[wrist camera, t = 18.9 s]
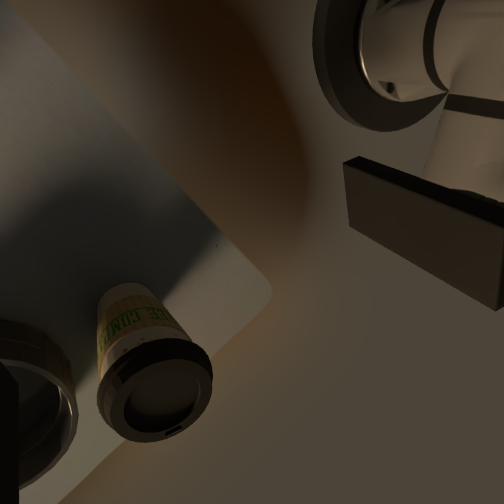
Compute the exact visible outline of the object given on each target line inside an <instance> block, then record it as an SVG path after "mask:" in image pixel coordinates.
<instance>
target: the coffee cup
mask: <svg viewBox="0 0 504 504" xmlns="http://www.w3.org/2000/svg"><path fill="white" fill-rule="evenodd" d="M97 320H98V324H97V353H98V375H99V382H100V384H99V388H98V392H97V406H98V409H99V412H100V414H101V416H102V418H103V419H104V421H105V422H106V423H107V424H108V425H109V426H110V427H111V428H112V429H113V430H115V431H116V432H117V433H118V434H119V435H120V436H122V437H123V438H125V439H128V440H130V441H134V442H144V443H147V442H156V441H160V440H164V439H167V438H169V437H172V436H174V435H176V434H178V433H180V432H182V431H183V430H185V429H186V428H188V427H189V426H190V425H191V424H193V423H194V422H195V421H196V420H197V419H198V418H199V417H200V415H201V414H202V413H203V412H204V410H205V408H206V407H207V405H208V403H209V400H210V398H211V394H212V380H213V373H212V366H211V362H210V360H209V357H208V355H207V354H206V352H205V351H204V350H203V349H202V348H201V347H200V346H198V345H197V344H195V343H193V342H192V340H191V339H190V337H189V336H188V335H187V334H186V332H185V331H184V330H183V329H182V327H181V326H180V325H179V324H178V323H177V321H176V320H175V319H174V318H173V317H172V315H171V314H170V313H169V312H168V310H167V309H166V308H165V307H164V306H163V304H162V303H161V302H159V301H158V300H157V299H156V298H155V296H154V295H153V294H152V293H151V291H150V290H149V289H148V288H146V287H145V286H143V285H141V284H137V283H123V284H119V285H117V286H114V287H112V288H111V289H109V290H108V291H107V292H106V293H105V294H104V295H103V296H102V297H101V299H100V301H99V303H98V307H97Z"/></svg>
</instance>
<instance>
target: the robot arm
mask: <svg viewBox="0 0 504 504" xmlns="http://www.w3.org/2000/svg"><path fill="white" fill-rule="evenodd" d="M353 44H354V56H355V62H356V66H357V69H358V72H359V74H360V77H361V79H362V81H363V82H364V84H365V85H366V86H367V88H368V89H369V90H370V91H371V92H372V93H373V94H375V95H376V96H378V97H380V98H382V99H385V100H390V101H396V102H408V101H415V100H418V99H422V98H426V97H430V96H434V95H438V94H441V93H445V92H448V96H447V99H446V102H445V105H444V108H443V111H442V114H441V117H440V120H439V124H438V127H437V130H436V133H435V137H434V140H433V143H432V146H431V149H430V152H429V155H428V158H427V161H426V164H425V167H424V171H423V174H422V177H421V178H419V177H416V176H414V175H411V174H408V173H405V172H402V171H400V170H397V169H394V168H391V167H389V166H386V165H383V164H380V163H378V162H374V161H372V160H369V159H366V158H363V157H361V156H358V157H356V158H353V159H351V160H348V161H346V162H344V163H343V172H344V180H345V190H346V199H347V208H348V218H349V226H350V227H352V228H353V229H355V230H357V231H359V232H360V233H362V234H364V235H365V236H367V237H369V238H370V239H372V240H374V241H376V242H377V243H379V244H381V245H383V246H384V247H386V248H388V249H389V250H391V251H393V252H394V253H396V254H398V255H400V256H402V257H403V258H405V259H406V260H408V261H410V262H412V263H413V264H415V265H417V266H419V267H420V268H422V269H424V270H425V271H427V272H429V273H430V274H432V275H434V276H436V277H437V278H439V279H441V280H443V281H444V282H446V283H448V284H450V285H451V286H453V287H455V288H456V289H458V290H460V291H461V292H463V293H465V294H466V295H468V296H470V297H472V298H473V299H475V300H477V301H479V302H480V303H482V304H484V305H485V306H487V307H489V308H491V309H492V310H494V311H497V310H499V309H501V308H502V307H504V0H362V2H361V4H360V7H359V10H358V13H357V17H356V22H355V28H354V42H353ZM0 504H19V384H18V383H17V381H16V380H15V379H14V378H13V376H12V375H11V374H10V372H9V371H8V370H7V369H6V367H5V366H4V365H3V363H2V362H1V361H0Z"/></svg>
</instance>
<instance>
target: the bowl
mask: <svg viewBox="0 0 504 504" xmlns="http://www.w3.org/2000/svg"><path fill="white" fill-rule="evenodd" d="M0 361H1V362H2V363H3V365H4V366H5V367H6V369H7V370H8V371H9V372H10V374H11V375H12V376H13V378H14V379H15V380H16V381H17V383H18V384H19V490H21V489H23V488H25V487H26V486H28V485H30V484H32V483H34V482H35V481H36V480H38V479H39V478H40V477H41V476H43V475H44V474H45V473H47V472H48V471H49V470H50V469H52V468H53V467H54V466H55V465H56V463H57V462H58V461H59V460H60V459H61V457H62V456H63V455H64V454H65V453H66V452H67V450H68V448H69V446H70V444H71V442H72V440H73V438H74V436H75V434H76V430H77V423H78V416H79V414H78V408H77V402H76V395H75V389H74V383H73V377H72V372H71V367H70V363H69V360H68V359H67V357H66V356H65V354H64V353H63V351H62V350H61V348H60V347H59V346H58V345H57V344H56V343H55V342H53V341H52V340H51V339H50V338H48V337H47V336H46V335H45V334H43V333H41V332H38V331H36V330H34V329H31V328H29V327H27V326H24V325H20V324H14V323H9V322H3V321H0Z"/></svg>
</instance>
